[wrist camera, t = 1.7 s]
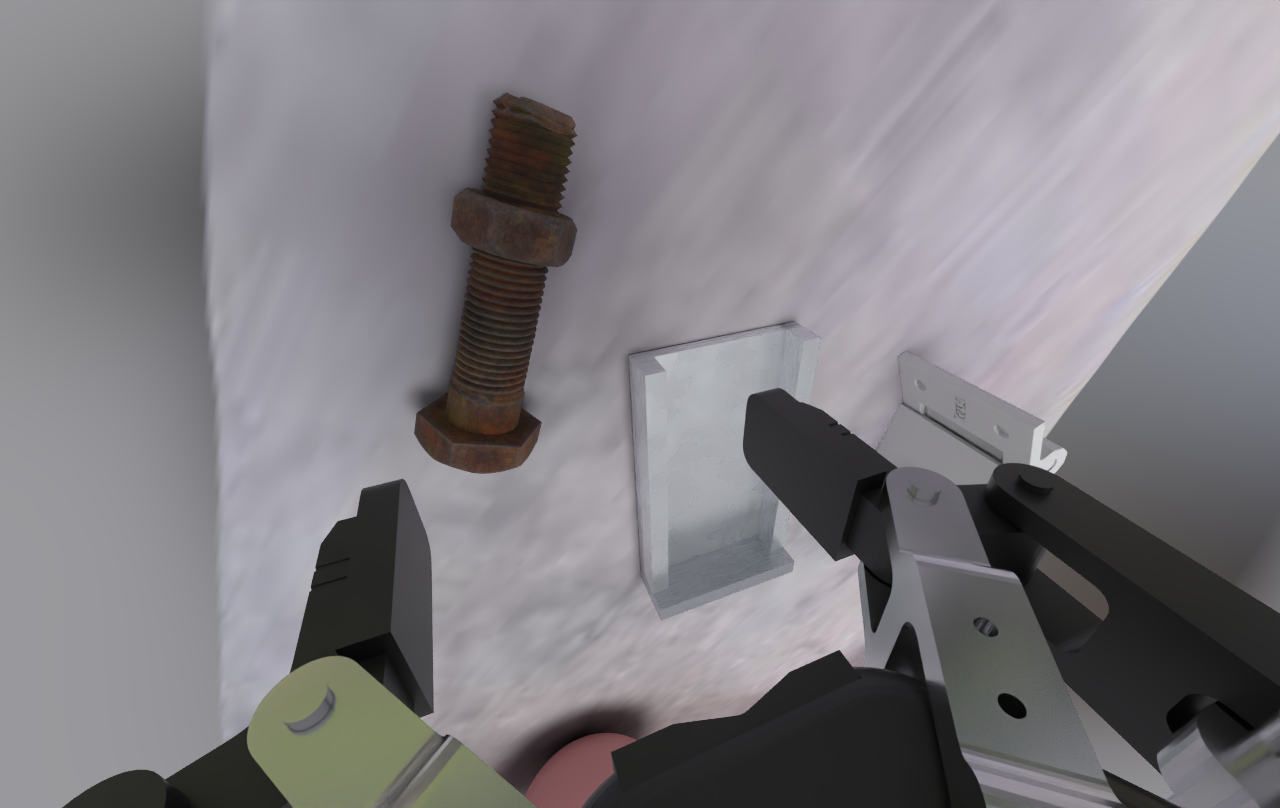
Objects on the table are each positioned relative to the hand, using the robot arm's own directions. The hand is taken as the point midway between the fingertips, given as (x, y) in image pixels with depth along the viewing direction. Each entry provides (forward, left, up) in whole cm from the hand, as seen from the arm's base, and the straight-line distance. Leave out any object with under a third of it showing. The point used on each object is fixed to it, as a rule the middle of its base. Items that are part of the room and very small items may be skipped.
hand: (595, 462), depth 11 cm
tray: (-11, +14, -15) cm, 23 cm away
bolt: (0, 0, -15) cm, 15 cm away
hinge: (-28, +16, -15) cm, 36 cm away
